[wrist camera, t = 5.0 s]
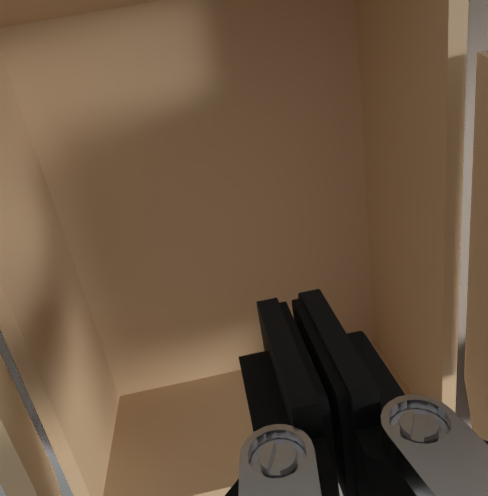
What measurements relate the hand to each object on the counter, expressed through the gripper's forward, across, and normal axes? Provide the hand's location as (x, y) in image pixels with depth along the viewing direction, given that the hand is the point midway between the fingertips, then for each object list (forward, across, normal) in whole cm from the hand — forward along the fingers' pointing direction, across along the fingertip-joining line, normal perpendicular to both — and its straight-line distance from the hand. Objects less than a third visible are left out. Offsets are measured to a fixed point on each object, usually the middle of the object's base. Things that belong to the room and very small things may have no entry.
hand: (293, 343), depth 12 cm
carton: (+12, +1, 0) cm, 12 cm away
